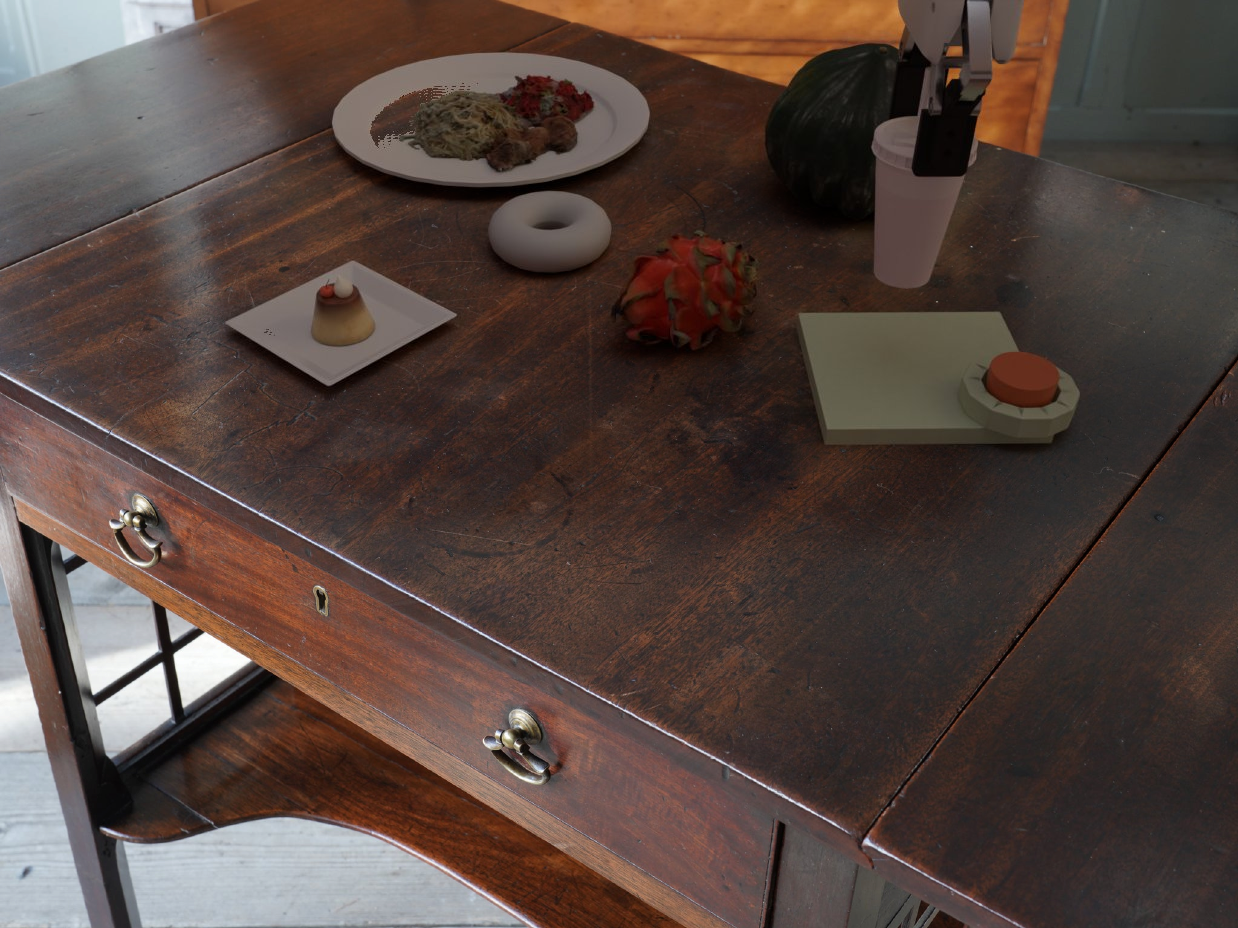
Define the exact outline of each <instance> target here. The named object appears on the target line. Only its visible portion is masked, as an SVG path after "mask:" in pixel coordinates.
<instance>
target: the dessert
mask: <svg viewBox="0 0 1238 928" xmlns="http://www.w3.org/2000/svg"><path fill="white" fill-rule="evenodd" d="M457 316H458V314H457V313H456V312H454V311H451V310H449V309H447V308H445V307H444V306H441V305H440V304H439V303H436V302H434V301H432V300H430V299H428V298H426V297H425V296H422V295H421V294H419V293H417V292H415V291H413V290H411V289H409V288H408V287H405V286H403V285H402V284H400V283H398V282H396V281H394V280H392V279H390V278H388V277H387V276H384V275H382V274H380V273H379V272H376V271H375V270H373V269H371V268H369V267H367V266H365V265H363V264H361V263H359V262H357V261H356V260H350V261H348V262H346V263H344V264H342V265H339V266H338V267H336V268H333V269H331V270H330V271H327V272H326V273H323V274H322V275H319V276H317V277H315V278H312V279H311V280H309V281H307V282H305V283H303V284H301V285H299V286H297V287H294V288H292V289H290V290H288V291H286V292H284V293H282V294H280V295H278V296H276V297H274V298H272V299H269V300H267V301H265V302H263V303H261V304H259V305H257V306H255V307H253V308H250V309H249V310H246V311H245V312H243V313H240V314H239V315H236V316H233V317H232V318H230V319H228V320H226V321H225V322H224V324H225V325H227V326H229V327H230V328H232V329H233V330H235V331H237V332H238V333H240V334H242V335H243V336H245V337H247V338H248V339H250V340H251V341H252V342H255V343H257V345H260V346H261V347H263V348H265V349H266V350H267V351H269V352H271V353H273V354H274V355H276V356H277V357H279V358H281V359H282V360H284V361H286V362H288V363H289V364H291V365H292V366H294V367H296V368H297V369H299V370H301V371H302V372H304V373H306V374H308V375H309V376H310V377H312V378H314V379H315V380H317V381H319V382H320V383H321V384H323V385H325V386H327V387H330V386H333V385H334V384H336V383H339V382H340V381H342V380H344V379H346V378H347V377H350V376H351V375H353V374H355V373H357V372H358V371H360V370H362V369H363V368H366V367H367V366H369V365H372V364H373V363H375V362H376V361H378V360H380V359H382V358H384V357H385V356H387V355H389V354H391V353H393V352H394V351H396V350H398V349H400V348H401V347H402V348H403V346H405V345H407V344H409V343H411V342H413V341H414V340H416V339H418V338H420V337H421V336H423V335H425V334H427V333H429V332H431V331H432V330H434V329H436V328H438V327H440V326H441V325H443V324H446V322H449V321H450V320H452V319H454V318H456V317H457ZM266 329H269V330H266ZM266 331H268V332H267V333H264V332H266ZM270 332H272V333H270ZM269 334H271V335H269ZM274 335H275V336H274Z"/></svg>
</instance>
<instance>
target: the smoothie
mask: <svg viewBox="0 0 1238 928" xmlns="http://www.w3.org/2000/svg"><path fill="white" fill-rule="evenodd" d="M930 68H931V67H927V68H926V70H925V75H924V81H923V87H922V93H921V99H920V105H919V111H918V116H907V117H900V118H895V119H891V120H888V121H886V122H884V123H882V124H881V125H879V126H878V127H877V128H876V130H875V132H874V139H873V142H872V147H871V148H872V151H873V153H874V155H875V156H876V175H875V177H876V185H875V214H874V236H873V237H874V238H873V239H874V240H873V242H874V243H873V274H874V276H875V278H876V279H877V280H878V281H880V282H881V283H882V284H884V285H887V286H890V287H892V288H893V287H894V288H898V289H916V288H920V287H922V286H924V285H926V284H927V283H929V281H930V280H931V276H932V273H933V271H934V268H935V265H936V261H937V259H938V257H939V253H940V250H941V247H942V244H943V241H944V239H945V236H946V232H947V230H948V227H949V223H950V220H951V218H952V215H953V212H954V209H955V206H956V204H957V200H958V197H959V195H960V191H961V190H962V186H963V183H964V180H965V177H966V174H967V172H966V173H965V175H963V176H961V177H917V176H915V175H914V174H913V171H912V169H911V167H912V161H913V155H914V149H915V143H916V138H917V132H918V126H919V120H920V114H921V109H928V100H929V84H930ZM978 146H979V140H978V138H977V136H976V135H975V134H974V139H973V143H972V148H971V153H970V158H969V163H968V168H969V167H971V166H973V164H974V163H975V162H976V160H977V153H978V152H977V150H978Z"/></svg>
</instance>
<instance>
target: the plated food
mask: <svg viewBox="0 0 1238 928" xmlns="http://www.w3.org/2000/svg"><path fill="white" fill-rule="evenodd" d="M462 83H464V84H462ZM477 83H478V84H477ZM434 86H442V87H434ZM445 86H447V87H445ZM452 86H456V87H452ZM460 86H465V87H460ZM468 86H470V87H468ZM427 88H432V89H433V88H438V89H445V90H433V91H442V92H446V93H436V94H442V95H445V96H442V97H441V96H433V97H438V98H439V99H432V100H431V101H430V102H426V103H427V104H425V103H421V104H420V109H421V110H420V111H418V112H417V113H416V114H415V115H414V116H411V117H415V119H416V118H417V119H418V120H417V119H416V120H417V121H416V120H412V123H411V125H410V126H412V125H413V124H417V127H416V128H415V131H414V133H413V134H409V133H410V132H413V131H410V132H407V133H406V134H404V135H401V134H399V135H401V136H399V135H398V136H393V135H395V134H392V135H391V136H387V135H389V134H387V135H386V136H385V138H384V140H380V139H378V140H380V142H378V144H379V145H378V147H379V148H378V147H377V146H376V145H375V142H374V141H373V139H372V136H371V134H370V130H371V127H372V125H371V124H372V121H374V120H375V117H377V116H376V115H378V114H380V112H381V111H383V109H384V107H386V106H389V104H390V103H391V104H392V103H394V101H395V100H399V98H400V97H402V96H403V95H404V96H405V95H407V94H409V93H411V94H412V92H414V91H416V92H417V91H419V90H420V91H422V90H423V89H427ZM447 88H448V89H447ZM451 89H454V90H451ZM459 89H464V90H459ZM467 89H470V90H467ZM426 91H428V90H426ZM447 91H448V92H447ZM424 92H425V91H424ZM431 92H432V91H431ZM451 92H452V93H451ZM449 93H450V94H449ZM419 94H421V93H419ZM425 94H428V93H425ZM425 94H424V95H425ZM433 94H435V93H433ZM446 94H447V95H446ZM431 95H432V94H431ZM420 97H421V96H420ZM426 97H427V96H426ZM431 98H432V97H431ZM426 100H427V99H426ZM332 115H333V116H332V121H331V126H332V127H331V128H332V131H333V134H334V137H335V141H336V142H337V143H338V144H339V146H340V147H341V148H342V149H343V150H344V151H345V153H347V154H348V155H350V156H351V157H352V158H354V159H355V160H357V161H359V162H360V163H361V164H363V165H365V166H368V167H370V168H372V169H374V170H377V171H379V172H381V173H384V174H387V175H390V176H395V177H397V178H401V179H406V180H409V181H412V182H419V183H427V184H433V185H439V186H440V185H441V186H449V187H451V186H452V187H465V188H467V187H469V188H493V187H495V188H497V187H514V186H515V187H516V186H523V185H529V184H538V183H539V184H540V183H546V182H550V181H551V182H552V181H555V180H560V179H563V178H568V177H572V176H576V175H580V174H582V173H585V172H587V171H590V170H593V169H597V168H598V167H602V166H604V165H606V164H608V163H610V162H612V161H614V160H616V159H618V158H619V157H621V156H623V155H625V154H626V153H627V152H628V151H630V150H631V149H632V148H633V147H635V146H636V145H637V144H638V143H639V142H640V141H641V139H642V138H643V136H644V135H645V133H646V132H647V130H648V126H649V123H650V116H651V112H650V107H649V105H648V101H647V99H646V98H645V97H644V95H643V94H642V93H641V91H640V90H639V89H638V87H636V86H634V85H633V84H632V83H630V82H629V81H628V80H626V79H625V78H624V77H622V76H620V75H618V74H615V73H613V72H611V71H609V70H607V69H605V68H602V67H598V66H595V65H593V64H590V63H587V62H583V61H578V60H575V59H570V58H565V57H560V56H554V55H545V54H537V53H527V52H525V53H524V52H476V53H475V52H474V53H465V54H454V55H446V56H440V57H436V58H435V57H434V58H430V59H425V60H420V61H415V62H412V63H408V64H405V65H401V66H397V67H395V68H393V69H390V70H386V71H384V72H382V73H380V74H377V75H374V76H373V77H371V78H369V79H367V80H366V81H363V82H361V83H360V84H358V85H356V86H355V87H354V88H352V89H351V90H350V91H349V92H348V93H346V94H345V95H344V96H343V97H342V98H341V99H340V101H339V102H338V104H337V106H336V107H335V108H334V110H333V114H332ZM419 129H420V130H419ZM393 132H394V131H393ZM415 133H417V134H415ZM378 137H380V136H378ZM389 137H391V139H387V138H389ZM395 137H398V139H393V138H395ZM399 138H400V139H399ZM390 140H391V142H388V141H390ZM383 141H384V142H383ZM383 144H384V145H383ZM389 144H390V145H389ZM384 147H385V148H384Z"/></svg>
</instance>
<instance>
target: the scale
mask: <svg viewBox="0 0 1238 928" xmlns="http://www.w3.org/2000/svg"><path fill="white" fill-rule="evenodd" d="M1003 317H1004V316H1003V315H1002V313H1001V311H906V312H905V311H903V312H902V311H901V312H900V311H898V312H896V311H895V312H894V311H893V312H890V311H889V312H888V311H887V312H886V311H885V312H882V311H880V312H878V311H877V312H798V313H797V317H796V325H795V328H796V333H797V337H798V341H799V345H800V350H801V354H802V357H803V361H804V366H805V370H806V374H807V378H808V383H809V386H810V391H811V395H812V398H813V399H812V400H813V402H814V407H815V411H816V416H817V419H818V424H819V428H820V432H821V436H822V440H823V444H824V445H825V446H855V445H856V446H857V445H859V446H860V445H862V446H863V445H867V446H868V445H869V446H870V445H972V444H973V445H974V444H975V445H977V444H978V445H979V444H980V445H981V444H983V445H985V444H986V445H988V444H990V445H991V444H994V445H995V444H996V445H997V444H1052V443H1053V440H1054V437H1055V435H1056V434H1058V433H1061V432H1062V431H1065V430H1067V429H1068V428H1069V427H1070V425H1071V422H1072V420H1073V417H1074V416H1075V413H1076V410H1077V406H1078V403H1079V401H1080V396H1081V392H1080V390H1079V388H1078V386H1077V385H1076V383H1075V380H1074V379H1073V377H1072V376H1071V375H1070V374H1068V373H1067V372H1065V371H1063V370H1062V369H1061V368H1059V367H1058V366H1056V365H1054V366H1055V367H1056V368H1057V370H1058V372H1059V381H1058V385H1057V388H1056V392H1055V395H1054V398H1053V400H1052V401H1051V402H1050V403H1049V404H1048V405H1046V406H1043V407H1040V408H1020V407H1016V406H1013V405H1010V404H1006V403H1003V402H1000V401H999V400H997V399H996V398H994V397H993V396H992V395H990V393H989V392H988V390H987V388H986V379H987V375H988V371H989V367H990V363H991V361H992V360H993V359H994V358H995V357H996V356H998V355H1000V354H1003V353H1007V352H1020V350H1019V348H1018V346H1017V344H1016V342H1015V339H1014V338H1013V336H1012V334H1011V332H1010V329H1009V328H1008V326H1007V323H1006V321H1005V319H1004V318H1003Z"/></svg>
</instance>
